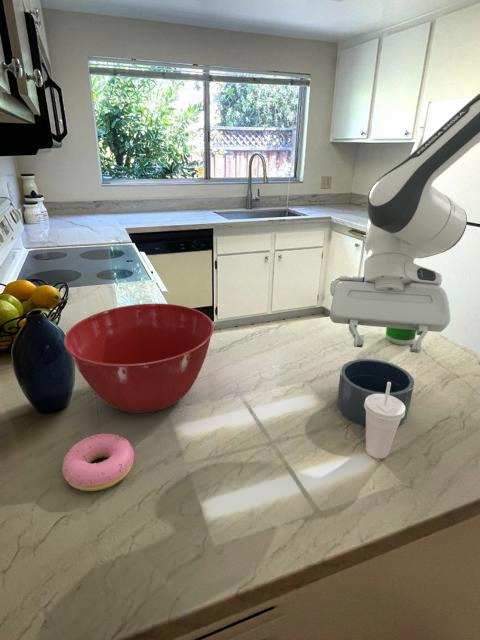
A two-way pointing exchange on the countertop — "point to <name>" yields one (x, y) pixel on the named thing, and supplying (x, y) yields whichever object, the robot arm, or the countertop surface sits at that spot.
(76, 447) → the doughnut
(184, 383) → the mixing bowl
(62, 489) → the countertop surface
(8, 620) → the countertop surface
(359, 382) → the pot
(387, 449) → the smoothie
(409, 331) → the soda can
